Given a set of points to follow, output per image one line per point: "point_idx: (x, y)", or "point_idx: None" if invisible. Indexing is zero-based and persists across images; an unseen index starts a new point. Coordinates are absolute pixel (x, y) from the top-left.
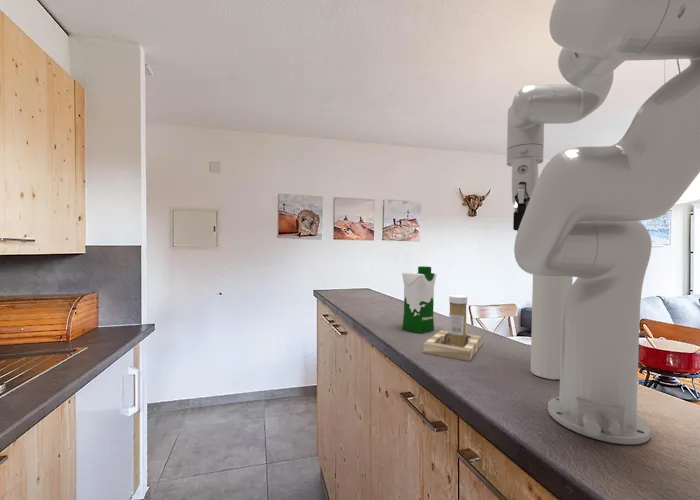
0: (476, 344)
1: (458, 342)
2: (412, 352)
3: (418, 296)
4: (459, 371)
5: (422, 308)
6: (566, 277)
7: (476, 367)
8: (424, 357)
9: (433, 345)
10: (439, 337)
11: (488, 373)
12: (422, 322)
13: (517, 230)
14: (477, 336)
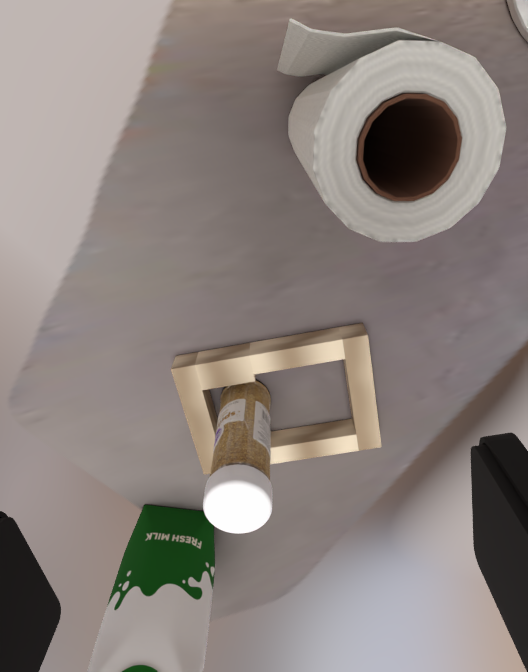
0: (267, 349)
1: (266, 396)
2: (389, 449)
3: (200, 621)
4: (456, 312)
5: (196, 574)
6: (420, 38)
7: (398, 292)
8: (408, 413)
9: (377, 423)
10: (291, 444)
11: (424, 253)
12: (202, 535)
13: (50, 623)
14: (194, 375)
